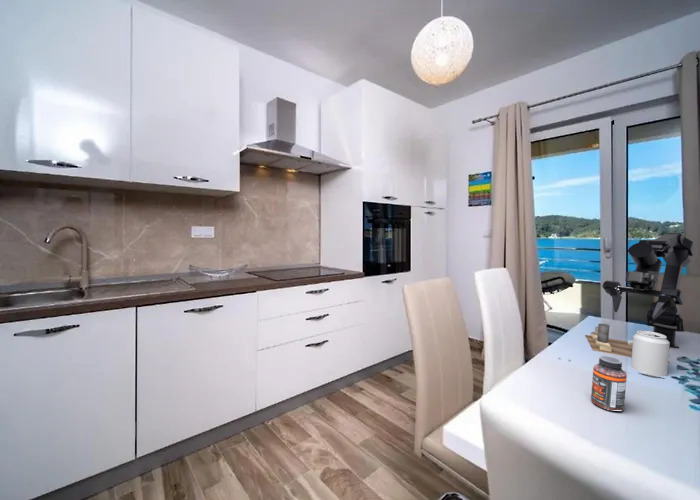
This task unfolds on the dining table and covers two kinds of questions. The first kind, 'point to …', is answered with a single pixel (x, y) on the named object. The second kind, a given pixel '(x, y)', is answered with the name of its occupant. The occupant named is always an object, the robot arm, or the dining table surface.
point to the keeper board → (614, 347)
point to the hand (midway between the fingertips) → (633, 315)
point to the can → (650, 353)
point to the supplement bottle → (609, 384)
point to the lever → (602, 337)
